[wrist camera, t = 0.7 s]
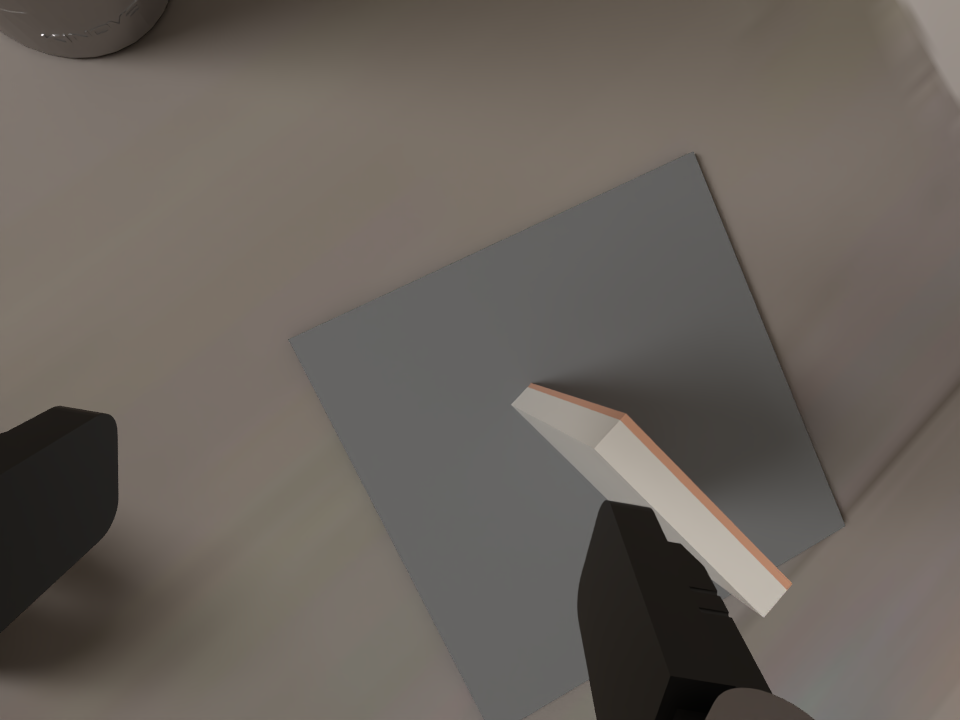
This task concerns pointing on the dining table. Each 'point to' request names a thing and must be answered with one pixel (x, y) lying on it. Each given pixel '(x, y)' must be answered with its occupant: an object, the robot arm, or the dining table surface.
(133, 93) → the dining table surface
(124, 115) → the dining table surface
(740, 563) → the tile
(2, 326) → the dining table surface
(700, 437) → the mat
